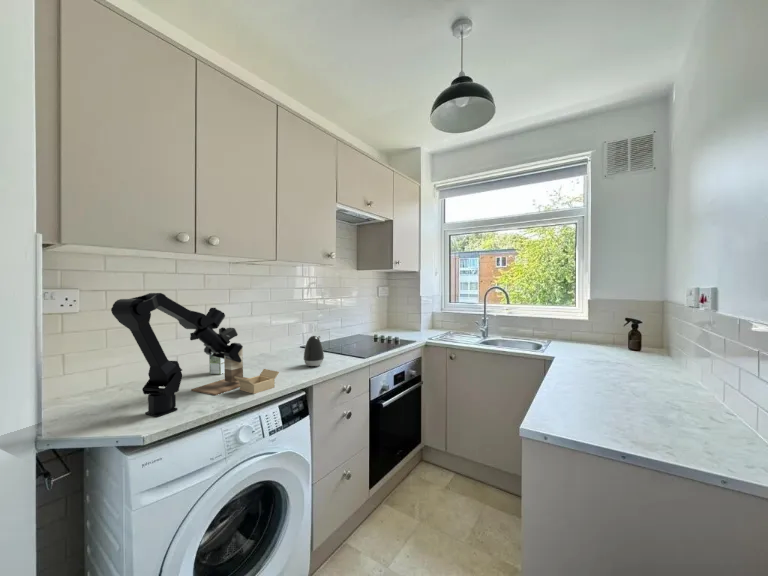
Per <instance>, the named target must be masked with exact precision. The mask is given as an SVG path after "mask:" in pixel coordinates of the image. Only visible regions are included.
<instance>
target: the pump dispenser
mask: <svg viewBox="0 0 768 576" xmlns="http://www.w3.org/2000/svg"><path fill="white" fill-rule="evenodd" d="M320 339H321V336H320V335H319V336H316V335H311V336H310V337H309V338H308V339H307V341H306V343H305V346H304V347H305V348H304V350H303V360H304V361H303V362H304V364H305V365H306V366H307V367H309V366H317V367H319V366H321V365H322V363H323V361H324V359H325V354H324V353H325V352H324V347H323V345H322V343H321V340H320Z"/></svg>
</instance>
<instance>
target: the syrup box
mask: <svg viewBox="0 0 768 576" xmlns="http://www.w3.org/2000/svg"><path fill="white" fill-rule="evenodd" d="M211 353H212V352H211ZM212 355H213V353H212V354H211V355H208V357H209V375H223V374H225V373H224V372H225V367H224V359H222V358H219V357H215V356H212ZM222 373H223V374H222Z"/></svg>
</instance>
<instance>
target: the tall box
mask: <svg viewBox="0 0 768 576" xmlns="http://www.w3.org/2000/svg"><path fill="white" fill-rule="evenodd" d="M243 353H244V349H243V348H242V349H241V350H240V351H239V353H238V354H239V356H240V358H241V360H242V361H241V362H240V363H239V362H236V361H232V360H229V359H226V358H225V356H224V367H225V373H224V379H225V381H227V382H235V381H238V380H237V379H235V378H234V377H235V376H236V377H240V378H243V377H244V360H243V359H244V354H243Z"/></svg>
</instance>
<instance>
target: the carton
mask: <svg viewBox="0 0 768 576" xmlns="http://www.w3.org/2000/svg"><path fill="white" fill-rule="evenodd" d="M279 373H280V371H277V370H272V369H269V368H268V369H266V368H263V369H262V371H261V373H259V375H256V376H253V377H247V378H248V379H244V378H240V377H236V376H235V377H234V378H235V379H237V380H238V381H239V382H240V387H239V390H240V391H241V392H242V391H243V392H246V393H250V394H253V395H255V394H258V393H259V394H260V393H261V392H265V391H268V390H272V389H274V388H275V386H276V385H275V383H276V382H275V380H276V378H277V376H279Z"/></svg>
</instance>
